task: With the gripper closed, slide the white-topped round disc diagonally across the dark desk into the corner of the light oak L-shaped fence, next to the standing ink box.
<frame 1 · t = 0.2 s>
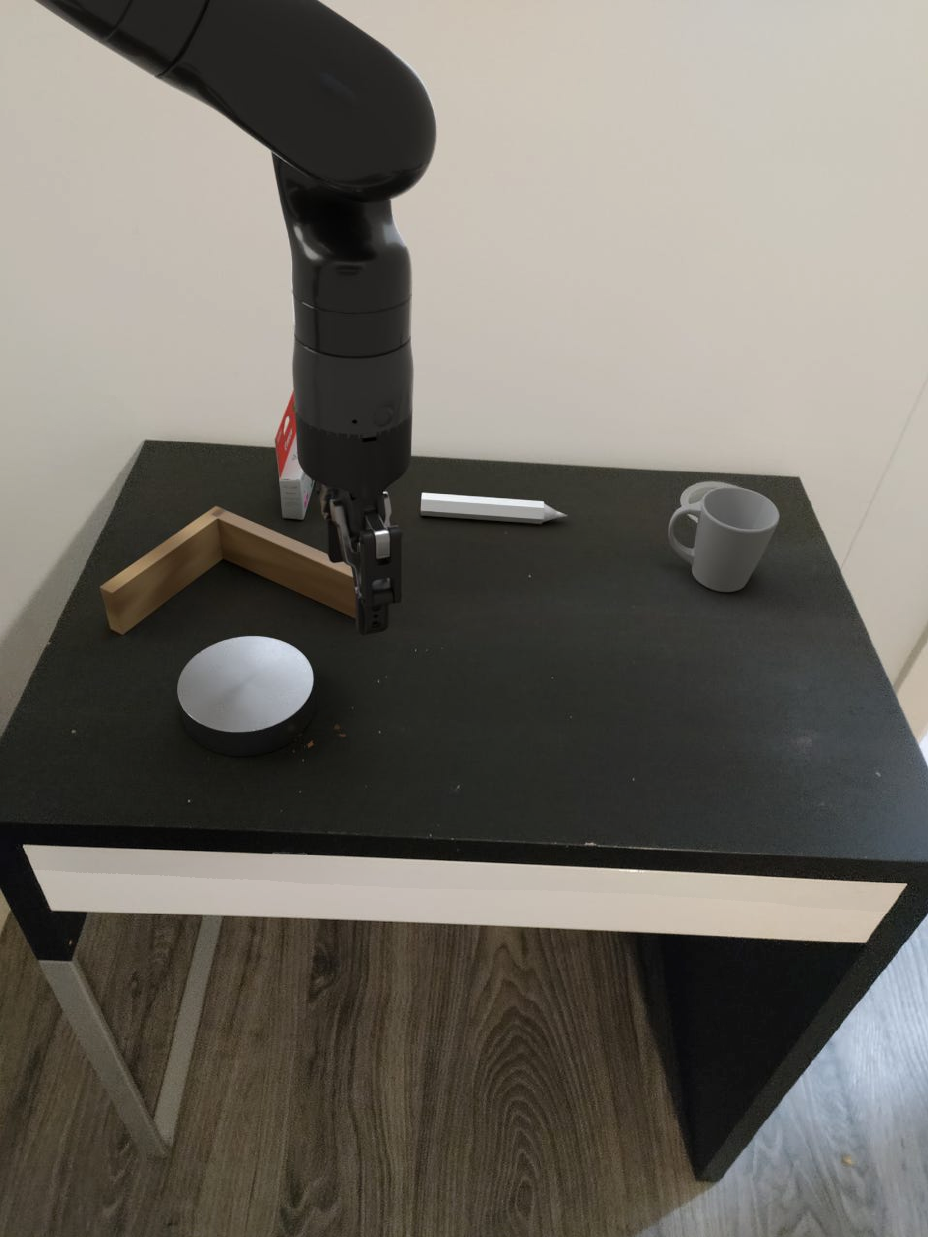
hand: (356, 593, 70), 13 cm above the table, tool pointing down, fingers open, 8 cm apart
ink box: (301, 492, 103), on the table
white-topped round disc: (249, 706, 79), on the table
white pencil: (494, 518, 101), on the table
corner fence: (223, 558, 93), on the table
cup: (706, 575, 96), on the table
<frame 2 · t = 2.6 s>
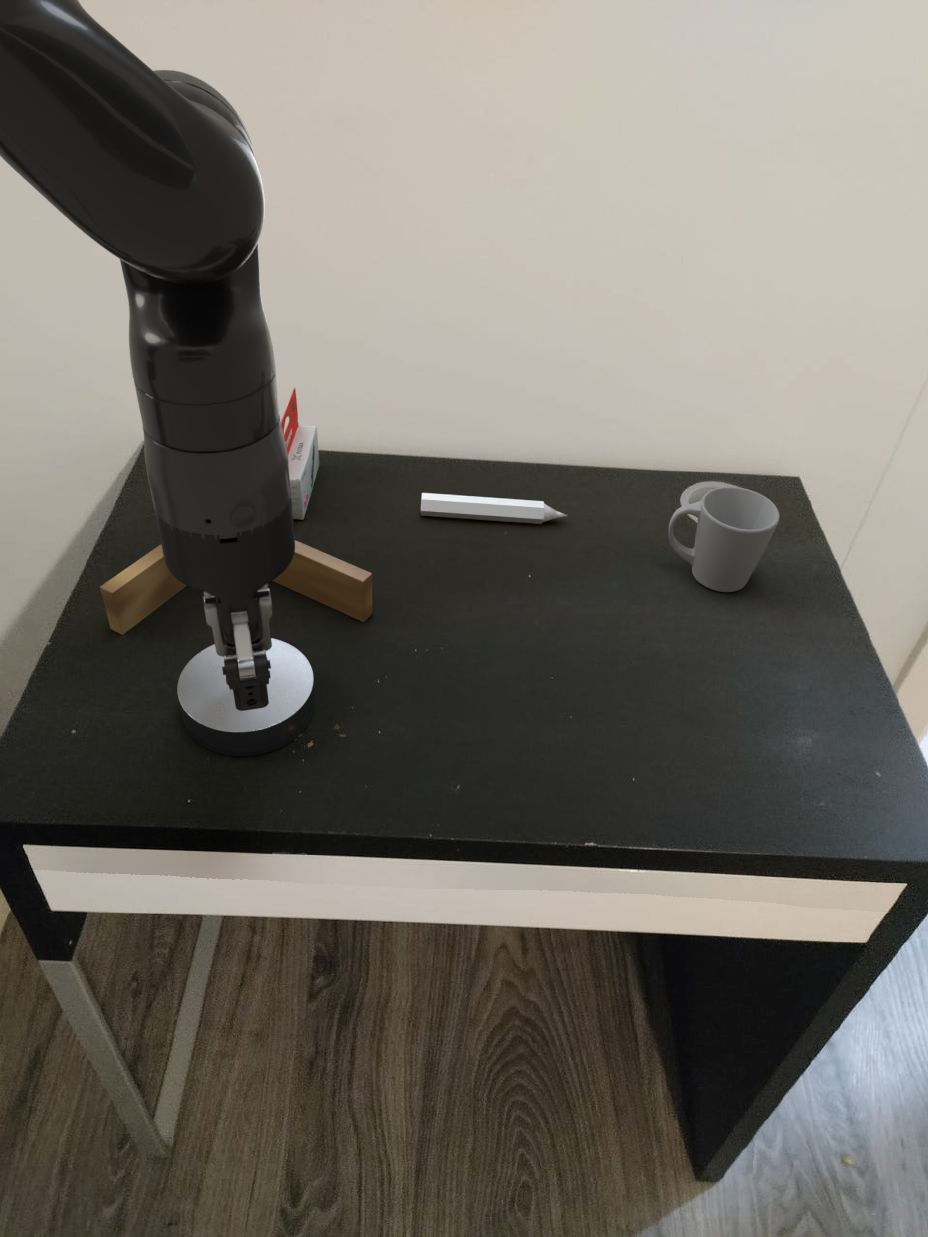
hand: (251, 701, 63), 12 cm above the table, tool pointing down, fingers closed
nothing on the table moved.
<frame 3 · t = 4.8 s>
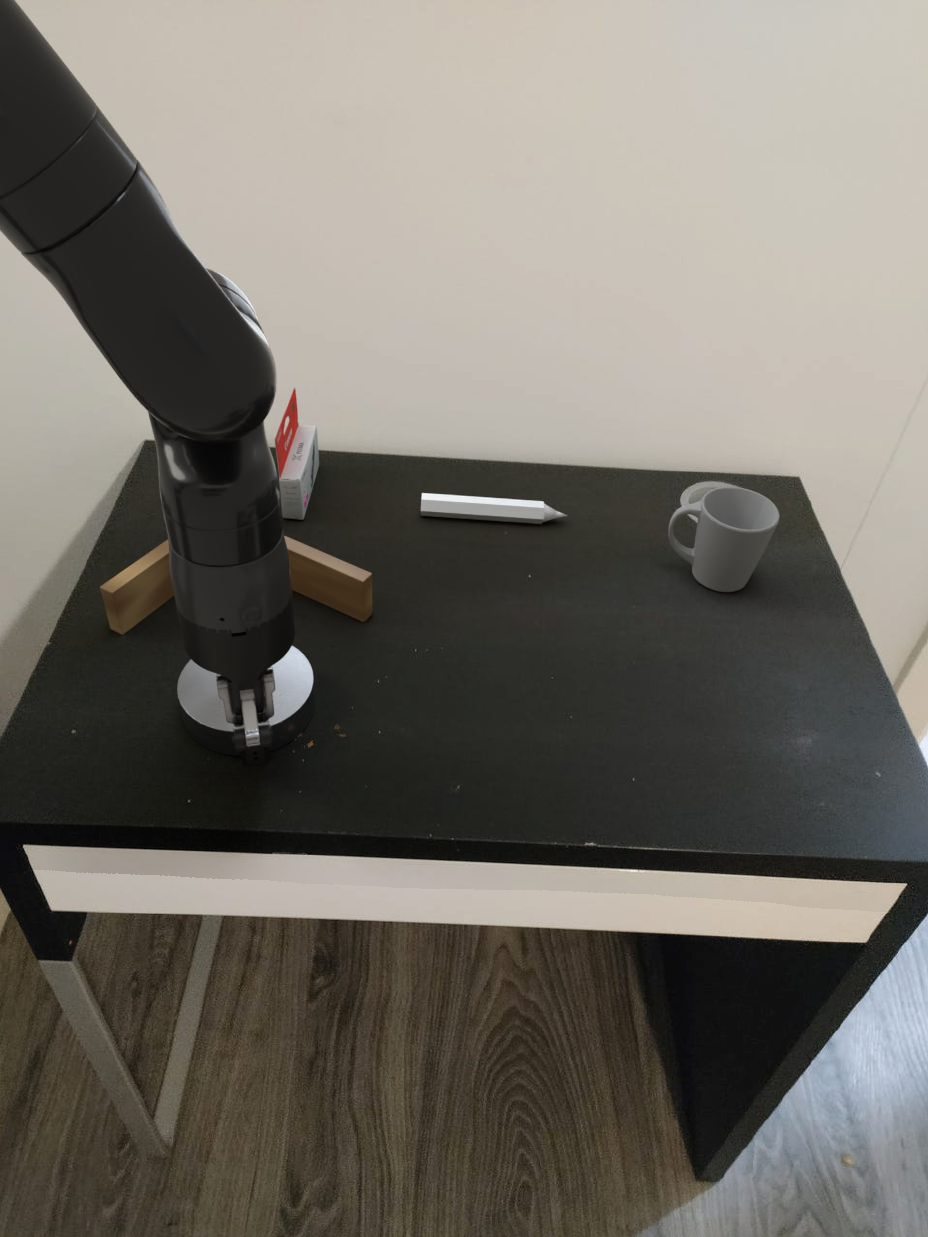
hand: (256, 758, 72), 2 cm above the table, tool pointing down, fingers closed
white-topped round disc: (249, 705, 79), on the table, touching gripper
everything else where it was.
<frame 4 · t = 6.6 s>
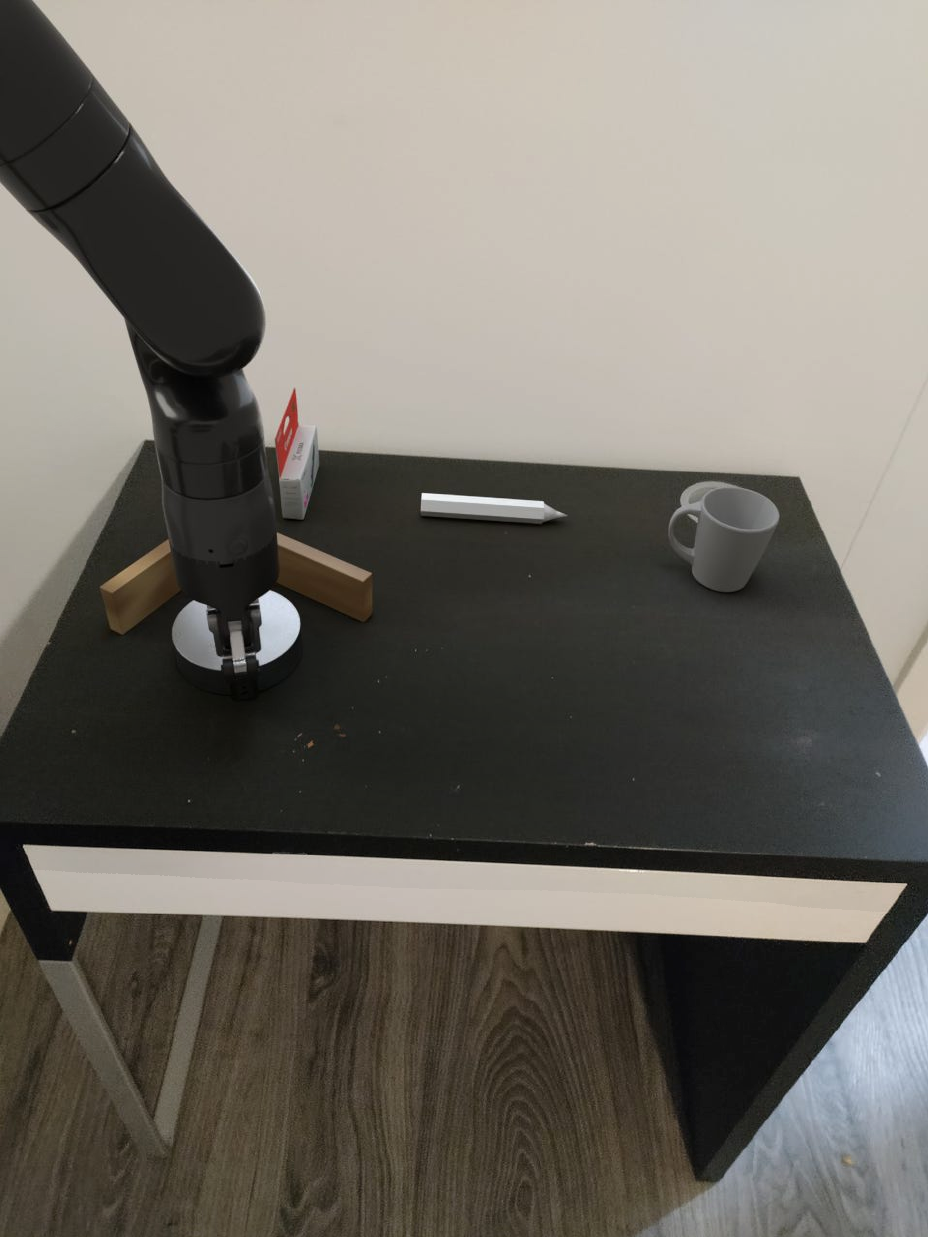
hand: (245, 694, 77), 2 cm above the table, tool pointing down, fingers closed
white-topped round disc: (240, 650, 83), on the table, touching gripper
everything else where it was.
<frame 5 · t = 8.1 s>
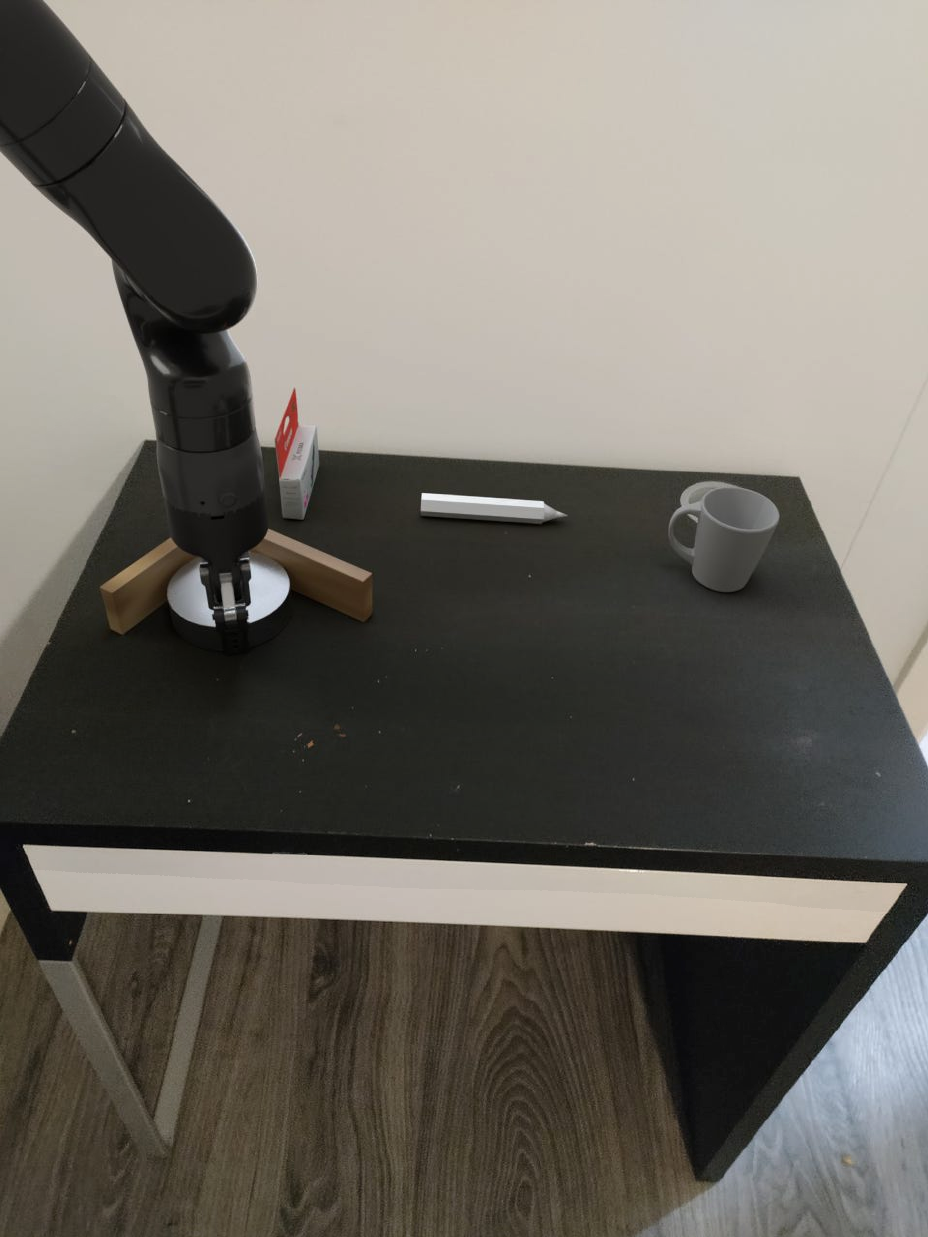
hand: (236, 649, 81), 2 cm above the table, tool pointing down, fingers closed
white-topped round disc: (232, 611, 87), on the table, touching corner fence, gripper
everything else where it was.
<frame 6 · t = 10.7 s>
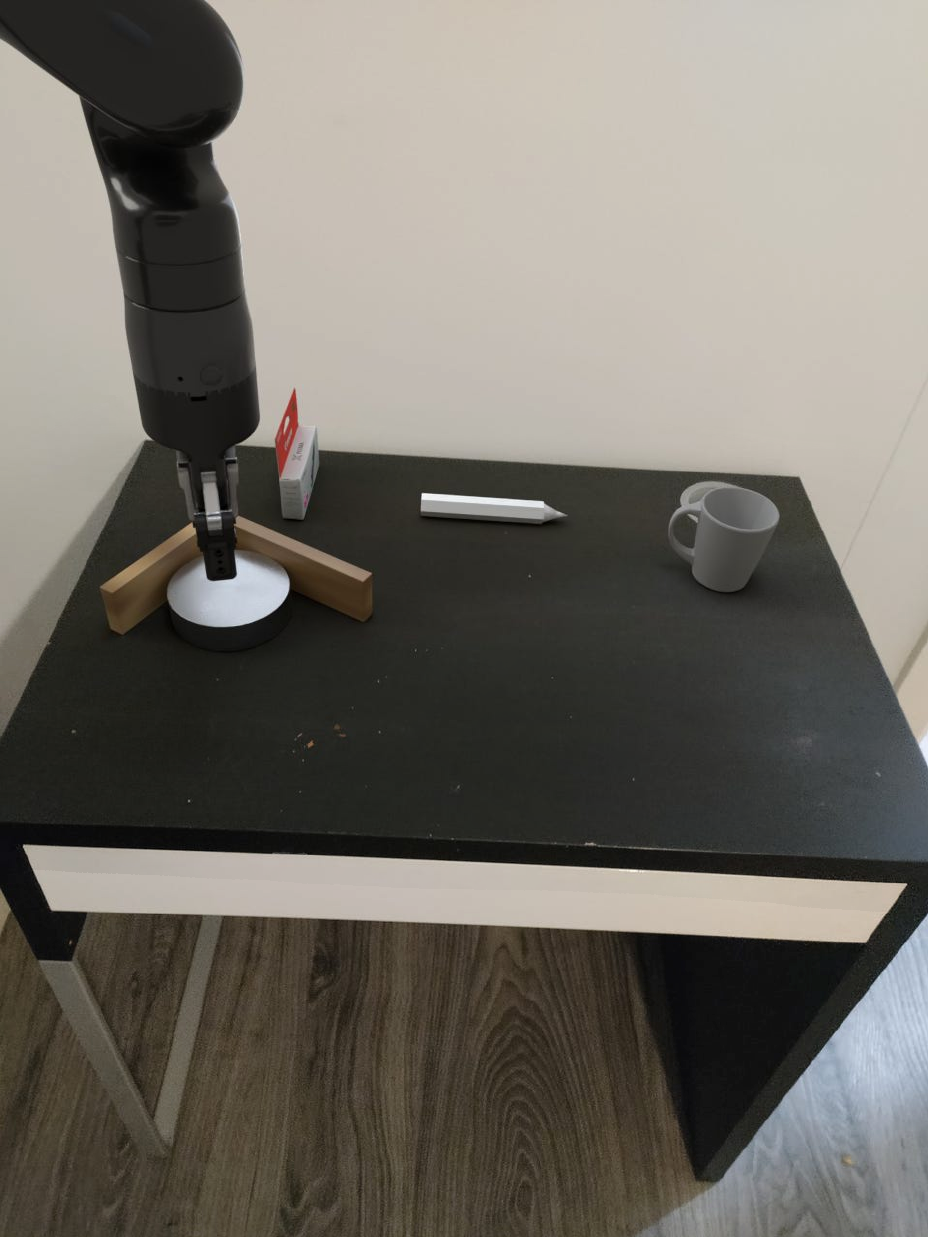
hand: (221, 574, 70), 14 cm above the table, tool pointing down, fingers closed
white-topped round disc: (232, 610, 87), on the table, touching corner fence
everything else where it was.
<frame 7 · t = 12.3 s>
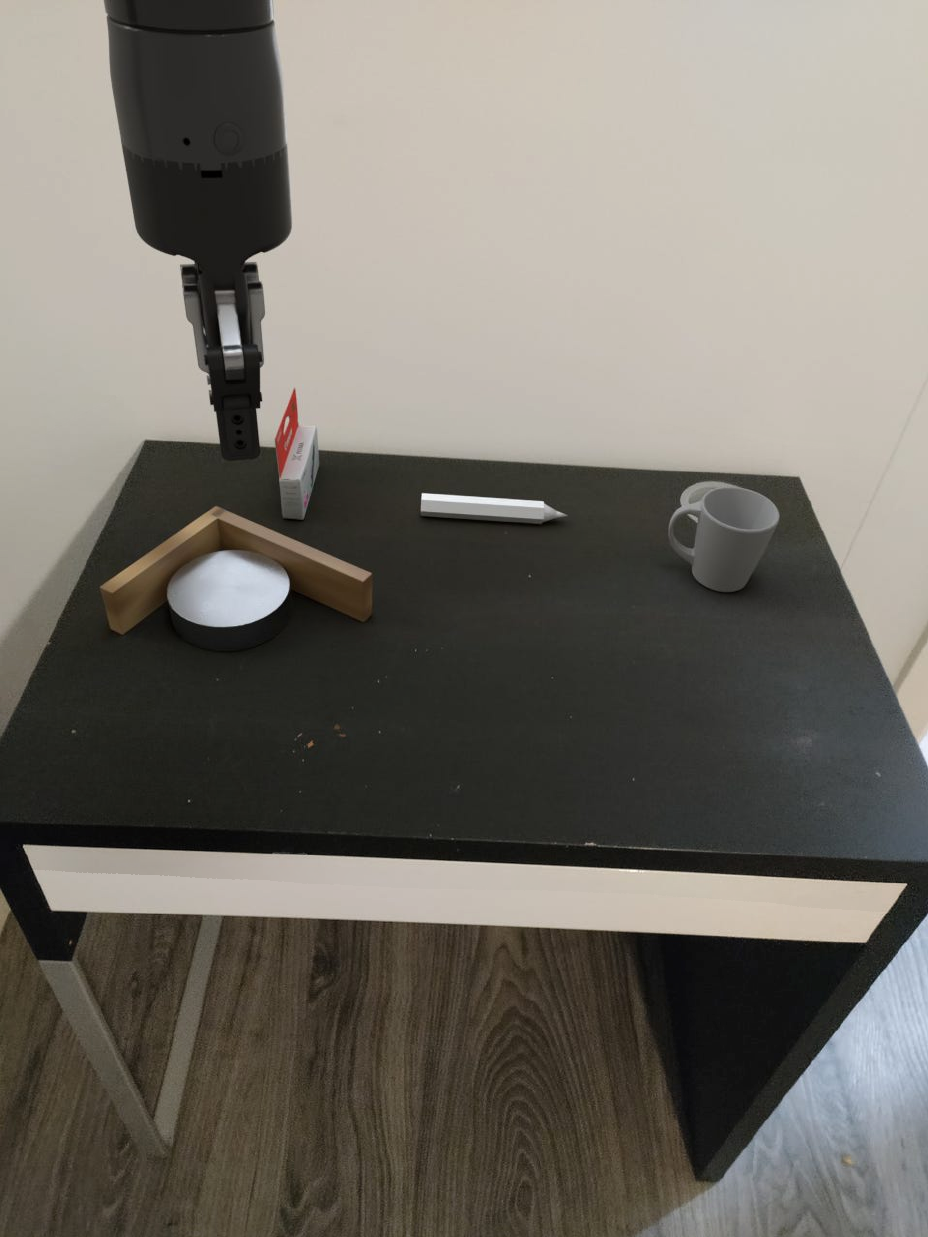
hand: (240, 453, 55), 29 cm above the table, tool pointing down, fingers closed
nothing on the table moved.
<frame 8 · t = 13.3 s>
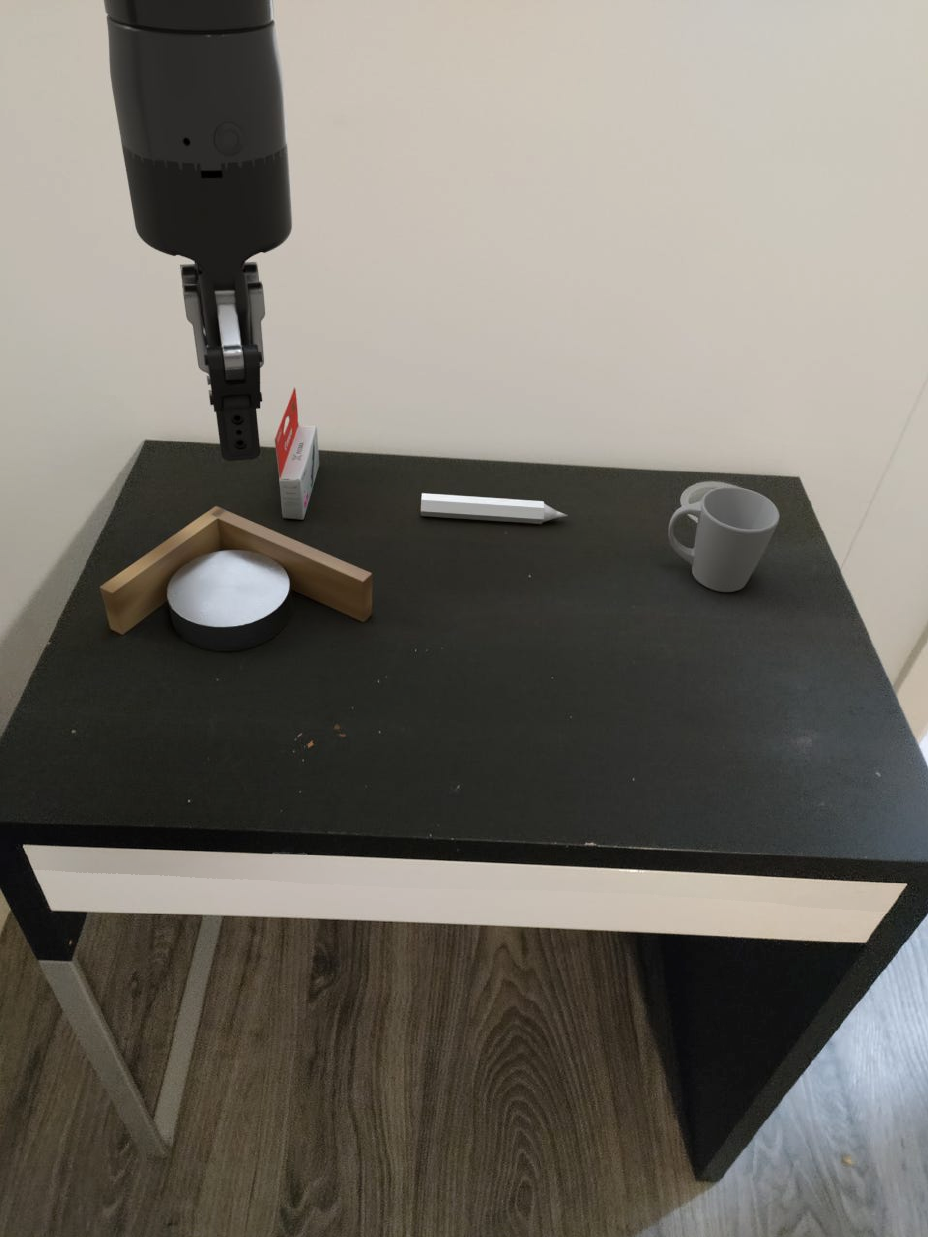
hand: (240, 453, 55), 29 cm above the table, tool pointing down, fingers closed
nothing on the table moved.
at the end: white-topped round disc 1.5 cm from the target spot on the corner fence, point 0.0 cm above the corner fence's base; white-topped round disc tilted 0°; white-topped round disc 20.7 cm from the ink box (horizontally) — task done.
